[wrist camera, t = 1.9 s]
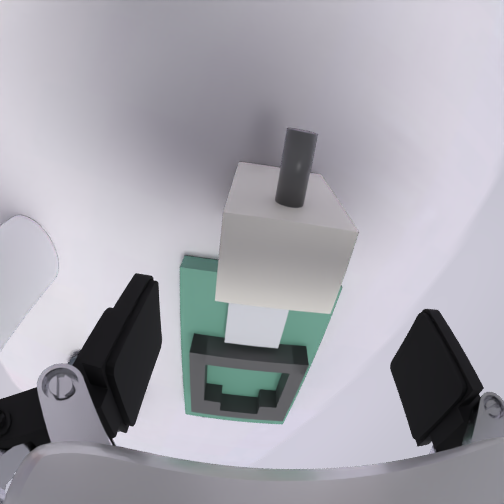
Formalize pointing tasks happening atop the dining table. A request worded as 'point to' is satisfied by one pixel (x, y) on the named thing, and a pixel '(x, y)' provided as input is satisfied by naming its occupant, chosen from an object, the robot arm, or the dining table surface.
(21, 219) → the cylindrical container
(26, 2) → the dining table surface
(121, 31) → the dining table surface
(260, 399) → the circuit board
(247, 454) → the dining table surface
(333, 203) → the keyed plug
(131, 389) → the robot arm
